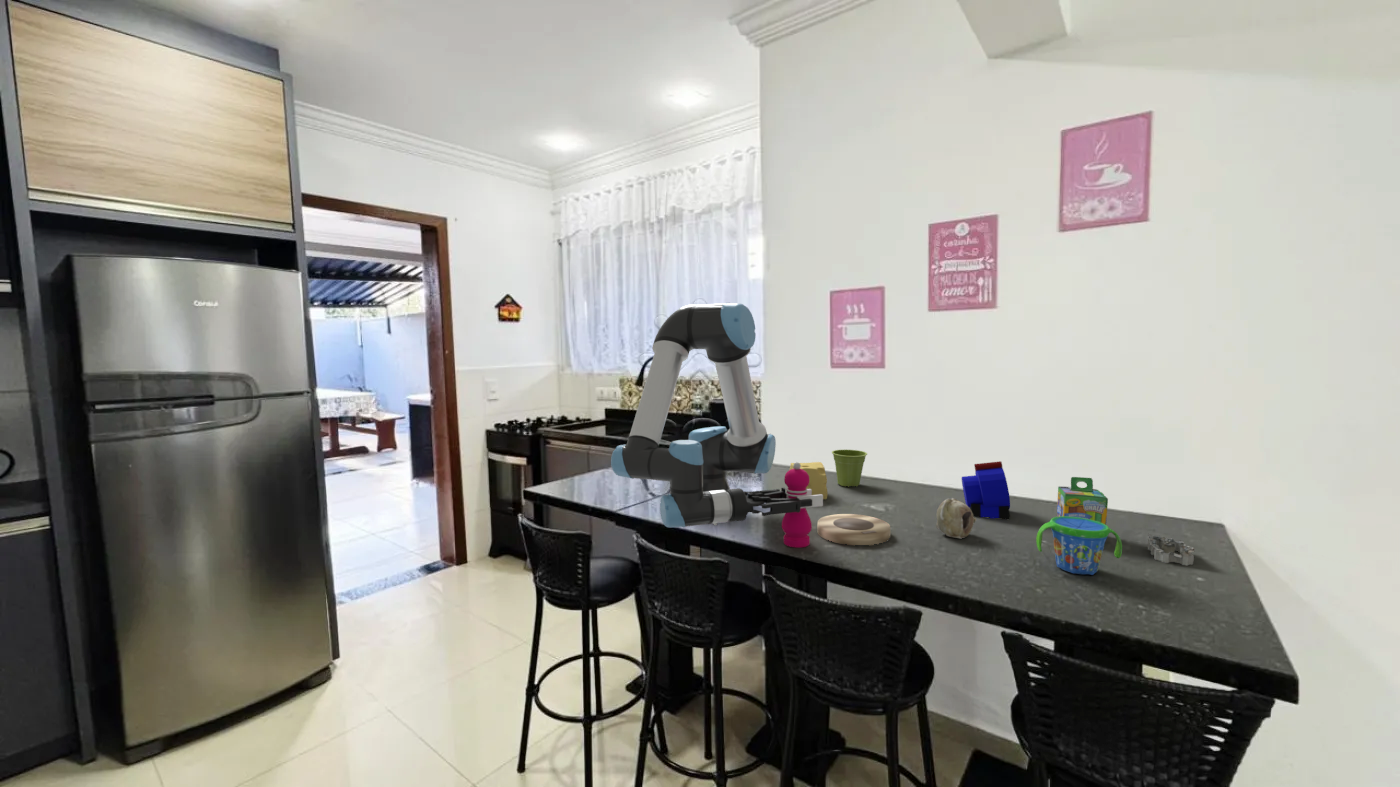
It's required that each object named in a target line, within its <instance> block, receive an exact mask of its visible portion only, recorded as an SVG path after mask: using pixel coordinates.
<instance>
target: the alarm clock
mask: <svg viewBox="0 0 1400 787" xmlns="http://www.w3.org/2000/svg"><path fill="white" fill-rule="evenodd" d="M974 471H975V473H974V475H968V476H967V475H965V476H961V484H962V489H963V490H962V493H963V497H964V501H965V504H966V505H967V506H968V507H969V508H970V509H971V511H972V513H973V516H975V517H974V518H982V517H990V518H989V519H995V518H1002V519H1001V520H1007V519H1011V518H1010V509H1011V497H1010V492H1009V486H1008V481H1007V478H1006V474H1005V470H1004V468H1003V463H1002V461H992V462H982V463H974Z"/></svg>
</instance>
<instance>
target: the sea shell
mask: <svg viewBox="0 0 1400 787" xmlns="http://www.w3.org/2000/svg"><path fill="white" fill-rule="evenodd" d="M976 521H977V517H974V516H973V513H972V511H971V509H970V508H969V507H968V506H967V505H966V503H964V502H963V501H960V500H958V499H957V498H954V497H951V498H946V499H945V500H943V501H942V502H940V504H939V505H938V508H937V509H936V524H935V526H936V529H937V530H939V531H941V532H942V533H944V534H945V535H946V537H950V538H953V539H954V538H955V539H962V538H966V537H968V536H969V535H970V533H971V531H972V529H973V527H974V524H975V523H976ZM962 540H963V539H962Z"/></svg>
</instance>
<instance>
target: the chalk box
mask: <svg viewBox="0 0 1400 787" xmlns="http://www.w3.org/2000/svg"><path fill="white" fill-rule="evenodd" d="M1080 482H1081V483H1084V484H1086V487H1080V486H1078V483H1080ZM1093 482H1094V481H1093V478H1092V477H1081V476H1072V477H1070V486H1057V489H1058V490H1057V491H1058V492H1057V504H1056V505H1057V506H1056V507H1057V508H1056V517H1060V516H1068V517H1079V518H1085V519H1090V520H1094V521H1098V522H1101V523H1103V524H1105V525H1107V520H1108V518H1107V516H1108V503H1109V498H1108V497H1107V496H1105V494H1104V493H1103V492H1102V491H1100V490H1099V489H1097V488H1094V483H1093Z"/></svg>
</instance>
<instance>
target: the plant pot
mask: <svg viewBox="0 0 1400 787" xmlns="http://www.w3.org/2000/svg"><path fill="white" fill-rule="evenodd" d="M831 454H832V456H833V461H834V465H835V472H836V480H837V484H838V485H840V486H841V487H846V486H848V487H847V488H850V487H849V486H852V487H855V486H856V487H859V486H860V483H861V479H862V472H863V468H864V463H865V460H866V456H867V455H868V452H866V451H863V450H857V449H835V450H832V451H831ZM858 485H859V486H858Z"/></svg>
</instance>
